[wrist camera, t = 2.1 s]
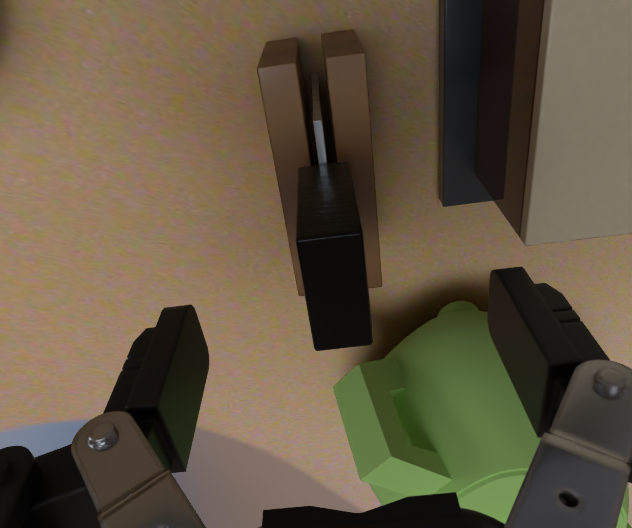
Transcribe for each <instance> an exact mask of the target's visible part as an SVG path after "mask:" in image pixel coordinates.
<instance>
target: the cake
mask: <svg viewBox="0 0 632 528" xmlns="http://www.w3.org/2000/svg"><path fill="white" fill-rule="evenodd" d="M439 199H440V201H441V203H442V205H443V206H444V207H445V206H453V205H461V204H469V203H478V202H486V201H494V202H495V203H496V205H497V206H498V208H499V209H500V211H501V212H502V213H503V215H504V216H505V218H506V219H507V220H508V222H509V223H510V225H511V226H512V227H513V229H514V230H515V232H516V233H517V234H518V236H519V237H520V239H521V240H522V242H523V243H524V245H526V246H529V245H537V244H546V243H554V242H563V241H571V240H580V239H588V238H596V237H605V236H613V235H622V234H630V233H632V0H439Z"/></svg>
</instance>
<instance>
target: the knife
mask: <svg viewBox="0 0 632 528" xmlns="http://www.w3.org/2000/svg"><path fill="white" fill-rule="evenodd" d="M311 89H312V110H313V125H314V133H315V140H316V148H317V155H318V163H319V165H315V166H308V167H300V168H298V170H297V204H296V239H295V242H296V248H297V253H298V259H299V265H300V270H301V276H302V282H303V287H304V293H305V299H306V304H307V310H308V316H309V321H310V327H311V333H312V338H313V344H314V348H315V350H316V351H320V350H330V349H339V348H348V347H357V346H366V345H371V344H372V343H373V336H372V325H371V314H370V302H369V291H368V280H367V269H366V258H365V247H364V236H363V229H362V224H361V219H360V214H359V209H358V204H357V199H356V194H355V189H354V184H353V179H352V174H351V169H350V164H349V162H347V161H346V162H338V163H331V164H329V162H328V154H327V146H326V138H325V130H324V121H323V113H322V105H321V97H320V89H319V81H318V72H311Z"/></svg>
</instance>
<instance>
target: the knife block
mask: <svg viewBox="0 0 632 528" xmlns="http://www.w3.org/2000/svg"><path fill="white" fill-rule="evenodd" d="M321 38H322V47H323V55H324V64H325V73H326V81H327V90H328V99H329V108H330V116H331V125H332V134H333V143H334V151H335V160H336V163H338V162H346V161H347V162H349V164H350V169H351V174H352V179H353V184H354V189H355V194H356V199H357V204H358V209H359V214H360V219H361V224H362V229H363V236H364V247H365V258H366V269H367V280H368V288H376V287H382V275H381V261H380V247H379V233H378V219H377V205H376V191H375V177H374V164H373V150H372V136H371V122H370V108H369V94H368V80H367V66H366V53H365V51H364V49H363V47H362V45H361V43H360V42H359V40H358V38H357V36H356V34H355V32H354V30H346V31H339V32H332V33H325V34H321ZM257 72H258V78H259V83H260V89H261V94H262V100H263V105H264V110H265V116H266V121H267V127H268V132H269V137H270V143H271V148H272V154H273V159H274V165H275V170H276V175H277V181H278V186H279V192H280V197H281V202H282V208H283V213H284V219H285V224H286V230H287V235H288V240H289V246H290V251H291V257H292V262H293V267H294V273H295V278H296V284H297V289H298V295H299V296H305V293H304V287H303V282H302V276H301V270H300V265H299V259H298V253H297V248H296V242H295V239H296V204H297V170H298V168H300V167H308V166H315V158H314V151H313V144H312V137H311V129H310V122H309V115H308V108H307V100H306V93H305V86H304V79H303V71H302V64H301V57H300V50H299V42H298V38H291V39H284V40H277V41H270V42H266V44H265V47H264V50H263V53H262V55H261V58H260V61H259V64H258V67H257Z"/></svg>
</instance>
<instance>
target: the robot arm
mask: <svg viewBox="0 0 632 528" xmlns="http://www.w3.org/2000/svg"><path fill="white" fill-rule="evenodd" d="M487 318H488V327H489V332H490V336H491V338H492V341H493V343H494V345H495V347H496V349H497V352H498V354H499V356H500V358H501V360H502V362H503V364H504V367H505V369H506V371H507V373H508V375H509V377H510V379H511V382H512V384H513V386H514V388H515V390H516V392H517V394H518V397H519V399H520V401H521V403H522V405H523V407H524V410H525V412H526V414H527V416H528V418H529V420H530V422H531V425H532V427H533V429H534V431H535V433H536V435H537V437H538V438H541V440H540V442H539V445H538V447H537V450H536V452H535V454H534V457H533V459H532V461H531V464H530V466H529V469H528V471H527V473H526V476H525V478H524V480H523V483H522V485H521V487H520V490H519V492H518V495H517V497H516V499H515V502H514V504H513V506H512V509H511V511H510V514H509V516H508V518H507V521H506V523H505V524H504V523H502V522H501V521H499V520H497V519H495V518H493V517H491V516H488V515H486V514H483V513H481V512H477V511H474V510H470V509H465V508H460V505H459V501H458V498H457V494H456V492H451V493H441V494H430V495H420V496H409V497H405V498H403V499H400V500H397V501H394V502H391V503H389V504H386V505H383V506H380V507H377V508H375V509H372V510H369V511H366V512H363V513H351V512H345V511H339V510H333V509H326V508H320V507H314V506H304V507H292V508H282V509H271V510H263V520H262V526H261V527H259V528H616V527H617V523H618V519H619V515H620V511H621V507H622V503H623V499H624V495H625V491H626V487H627V483H628V482H630V483H632V369H631V368H629V367H627V366H625V365H623V364H620V363H617V362H613V361H610V359H609V358H608V357H607V355H606V354H605V353H604V351H603V350H602V348H601V347H600V346H599V344H598V343H597V341H596V340H595V339H594V337H593V336H592V335H591V333H590V332H589V330H588V329H587V328H586V326H585V325H584V323H583V322H582V321H580V318H579V317H578V315H577V314H576V312H575V311H574V310H572V307H571V305H570V304H569V303H568V301H567V300H566V299H565V297H564V296H563V294H562V293H560V292H558V291H557V290H555V289H554V288H552V287H551V286H549V285H548V284H546V283H541V284H534V283H533V281H532V280H531V278H530V277H529V275H528V274H527V272H526V271H525V269H524V268H523V267H513V268H505V269H496V270H492V271H491V274H490V284H489V299H488V315H487ZM127 357H128V359H126V361H125V363H124V366H123V368H122V369H123V371H121V373H120V375H119V377H118V380H117V382H116V385H115V387H114V389H113V392H112V394H111V396H110V399H109V401H108V403H107V406H106V408H105V410H104V413H103V414H101V415H99V416H97V417H95V418H93V419H92V420H90V421H89V422H87V423H86V424H85V425H84V426H83V427H82V428H81V429H80V430H79V431H78V432H77V434H76V435H75V437H74V439H73V441H72V444H70V445H68V446H65V447H63V448H60V449H57V450H54V451H52V452H49V453H46V454H43V455H41V456H38V457H36V458H34V456H33V455H32V454H31V452H30V451H29V450H28V449H27V448H25V447H22V446H11V447H6V448H3V449H0V528H206V527H205V525H204V524H203V522H202V521H201V519H200V518H199V516H198V514H197V513H196V511H195V510H194V508H193V506H192V505H191V503H190V502H189V500H188V499H187V497H186V496H185V494H184V493H183V491H182V489H181V488H180V486H179V485H178V483H177V482H176V480H175V478H174V477H173V475H172V474H171V473H176V472H185V471H186V468H187V464H188V459H189V455H190V450H191V446H192V441H193V437H194V432H195V428H196V423H197V419H198V415H199V410H200V406H201V401H202V397H203V392H204V388H205V383H206V379H207V374H208V370H209V352H208V347H207V344H206V341H205V338H204V335H203V332H202V329H201V326H200V323H199V320H198V317H197V314H196V311H195V308H194V307H193V306H192V305H184V306H176V307H167V308H164V309H163V310H162V312H161V315H160V317H159V320H158V322H157V325H156V327H153V328H146V329H145V330H144V331H143V333H142V334H141V335H140V336H139V337H138V338H137V339H136V340H135V341H134V342H133V344H132V347H131V349H130V352H129V354H128V356H127Z"/></svg>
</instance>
